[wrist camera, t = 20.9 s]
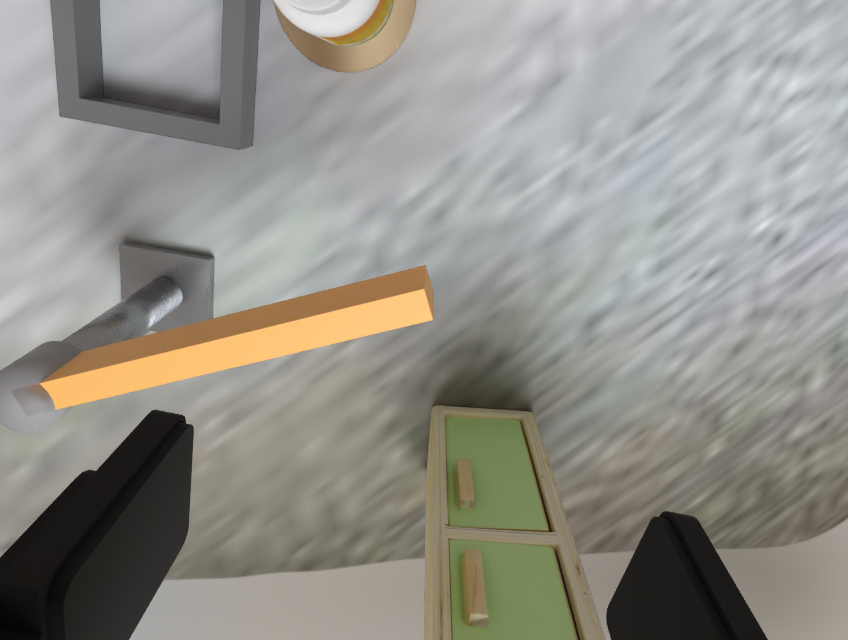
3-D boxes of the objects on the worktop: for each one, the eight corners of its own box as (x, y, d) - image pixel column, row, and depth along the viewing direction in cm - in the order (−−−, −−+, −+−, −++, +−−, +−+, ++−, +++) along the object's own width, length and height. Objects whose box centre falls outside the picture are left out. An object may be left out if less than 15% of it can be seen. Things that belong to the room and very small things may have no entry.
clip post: (214, 257, 37) (125, 323, 27) (212, 335, 39) (129, 425, 29) (125, 241, 37) (0, 302, 26) (128, 321, 39) (14, 407, 29)
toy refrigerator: (538, 401, 41) (627, 679, 22) (524, 479, 44) (592, 786, 25) (432, 393, 41) (428, 665, 22) (425, 472, 44) (416, 774, 25)
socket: (262, -47, 30) (248, -58, 28) (252, 145, 34) (239, 149, 32) (73, -86, 30) (42, -101, 27) (85, 114, 34) (59, 116, 31)
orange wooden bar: (52, 403, 28) (7, 439, 25) (19, 349, 27) (-33, 380, 24) (438, 310, 26) (438, 339, 23) (420, 246, 24) (418, 268, 21)
